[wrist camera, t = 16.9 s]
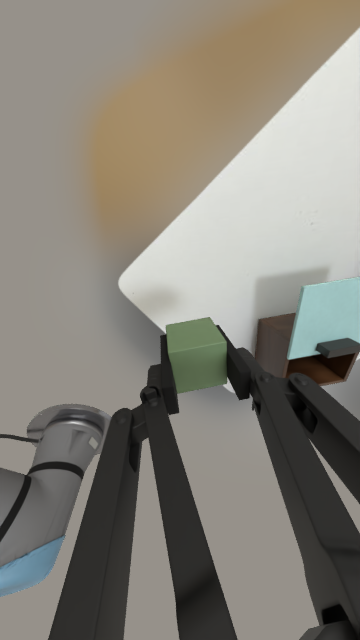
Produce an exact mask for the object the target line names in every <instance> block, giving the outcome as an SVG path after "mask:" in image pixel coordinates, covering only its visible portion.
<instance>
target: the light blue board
mask: <svg viewBox="0 0 360 640" xmlns="http://www.w3.org/2000/svg"><path fill="white" fill-rule="evenodd" d="M357 352H360V277H355V278H349V279H343V280H337V281H331V282H325V283H319V284H313V285H307V286H302V287H301V291H300V296H299V301H298V306H297V310H296V315H295V320H294V325H293V330H292V334H291V339H290V344H289V349H288V353H287V359H288V360H290V359H295V358H301V357H306V356H311V355H317V354H322V355H323V356H325V357H326V358H331V357H336V356H342V355H347V354H352V353H357Z"/></svg>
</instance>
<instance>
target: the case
mask: <svg viewBox="0 0 360 640" xmlns="http://www.w3.org/2000/svg"><path fill="white" fill-rule="evenodd" d="M295 315H296V313H292V314H286V315H280V316H274V317H269V318H263V319H259V323H258V334H257V344H256V354H255V360H256V361H257V362H258V363H259V364H260V366H261V367H262V368H263V369H264V370H265V371H266V372H269V373H271V374H273V375H274V376H275V377H279V378H289V376H290V374H292V373H301V374H304V375H307V376H308V377H310V378H311V379H312V380H313V381H315V382H316V383H317V384H318V385H319V386H324V385H329V384H335V383H339V382H344V381H346V380H347V378H348V376H349V373H350V371H351V369H352V367H353V365H354V363H355V360H356V358H357V356H358V354H359V352H357V353H352V354H347V355H342V356H336V357H331V358H326V357H325V356H323V355H322V354H317V355H311V356H306V357H301V358H295V359H290V360H288V359H287V353H288V349H289V344H290V339H291V334H292V330H293V325H294V320H295Z"/></svg>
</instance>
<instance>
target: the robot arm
mask: <svg viewBox="0 0 360 640" xmlns="http://www.w3.org/2000/svg"><path fill="white" fill-rule="evenodd" d="M216 327H217V328H218V330H219V331H220V333H221V334H222V336H223V337H224V339H225V340H226V342H227V377H228V379H229V381H230V383H231V385H232V387H233V389H234V391H235V393H236V395H237V397H238V398H239V400H243V399H248V398H249V397H250V394H251V396H252V397H253V402H252V403H253V404H252V410H254V408H255V412H256V415H257V418H258V421H259V424H260V427H261V430H262V433H263V436H264V440H265V443H266V445H267V449H268V452H269V455H270V458H271V461H272V464H273V468H274V471H275V474H276V477H277V480H278V484H279V486H280V489H281V493H282V496H283V499H284V502H285V505H286V508H287V511H288V515H289V518H290V521H291V524H292V527H293V530H294V534H295V537H296V540H297V543H298V546H299V549H300V552H301V556H302V559H303V563H304V569H305V577H306V581H307V585H308V589H309V592H310V596H311V599H312V602H313V606H314V609H315V612H316V615H317V619H318V622H319V625H320V626H317V627H314V628H310V629H308V630H307V631H306V632H305V633H304V635H303V636H302V637H301V638H300V639H299V640H360V533H359V531H358V530H357V528H356V526H355V524H354V522H353V520H352V518H351V517H350V515H349V513H348V511H347V509H346V507H345V505H344V504H343V502H342V500H341V498H340V496H339V494H338V492H337V491H336V489H335V487H334V486H333V483H332V481H331V479H330V478H329V476H328V474H327V472H326V470H325V468H324V466H323V465H322V463H321V461H320V459H319V458H318V455H317V453H316V452H315V450H314V448H313V446H312V445H311V442H312V443H313V444H314V446H315V447H316V448H317V450H318V451H319V452H320V454H321V455H322V456H323V457H324V459H325V460H326V461H327V462H328V464H329V465H330V466H331V468H332V469H333V470H334V471H335V473H336V474H337V475H338V477H339V478H340V479H341V480H342V482H343V483H344V484H345V486H346V487H347V488H348V489H349V491H350V492H351V493H352V494H353V496H354V497H355V498H356V500H357V501H358V502H359V504H360V421H359V420H358V419H357V418H356V417H354V416H353V415H352V414H351V413H350V412H349V411H348V410H346V409H345V408H344V407H343V406H342V405H341V404H339V403H338V402H337V401H336V400H335V399H334V398H333V397H331V395H329V394H328V393H327V392H326V391H325V390H324V389H322V388H321V387H320V386H319V385H318V384H317V383H316V382H315V381H313V380H312V379H311V378H310V377H308V376H307V375H304V374H301V373H292V374H290V376H289V378H279V377H275V376H274V375H273V374H271V373H269V372H266V371H265V370H264V369H263V368H262V367H261V366H260V364H259V363H258V362H257V361H256V360H255V359H254V357H253V356H252V355H251V354H250V352H249V351H248V350H246V349H245V348H238V349H236V348H235V347H234V346H233V344H232V343H231V342H230V340H229V339H228V337H227V336H226V335H225V333H224V332H223V330H222V329H221V328H220V326H219V325H216ZM160 338H161V364H158V365H152V366H151V367H150V369H149V370H148V381H147V386H146V387H145V388H144V389H142V391H141V393H140V398H141V401H142V404H141V405H140V406H138V407H137V408H134V409H133V410H130V409H128V408H122V409H120V410H118V411H117V412H115V414H114V415H113V416H112V418H111V420H110V423H109V427H108V430H107V434H106V438H105V441H104V445H103V448H102V452H101V455H100V460H99V462H98V466H97V469H96V473H95V476H94V480H93V484H92V487H91V490H90V494H89V498H88V501H87V505H86V508H85V511H84V515H83V519H82V522H81V526H80V530H79V533H78V536H77V540H76V544H75V547H74V550H73V554H72V557H71V561H70V564H69V568H68V571H67V575H66V578H65V582H64V586H63V589H62V592H61V596H60V600H59V603H58V607H57V611H56V614H55V617H54V621H53V624H52V628H51V631H50V635H49V638H48V640H123V638H124V626H125V617H126V616H125V615H126V605H127V595H128V585H129V574H130V564H131V553H132V542H133V532H134V521H135V511H136V501H137V490H138V479H139V468H140V458H141V448H142V441H143V440H144V439H146V438H148V437H149V443H150V449H151V454H152V461H153V467H154V472H155V479H156V484H157V490H158V496H159V502H160V508H161V514H162V520H163V526H164V532H165V538H166V544H167V550H168V556H169V562H170V568H171V573H172V580H173V586H174V592H175V600H176V615H177V624H178V631H179V639H180V640H237V636H236V633H235V630H234V627H233V623H232V620H231V617H230V614H229V610H228V607H227V604H226V601H225V598H224V594H223V591H222V588H221V585H220V582H219V579H218V576H217V573H216V570H215V566H214V563H213V560H212V556H211V553H210V550H209V547H208V543H207V540H206V537H205V534H204V530H203V527H202V524H201V521H200V517H199V514H198V511H197V508H196V505H195V501H194V498H193V495H192V491H191V488H190V485H189V482H188V478H187V475H186V472H185V469H184V465H183V462H182V459H181V456H180V453H179V449H178V446H177V443H176V439H175V436H174V433H173V430H172V426H171V423H170V420H169V417H168V414H169V415H171V414H176V413H179V407H178V399H177V390H176V384H175V380H174V375H173V370H172V366H171V362H170V359H169V355H168V346H167V335H161V336H160ZM0 438H11V439H15V440H20V441H26V442H33V443H38V446H37V449H36V453H35V457H34V460H33V464H32V467H31V469H30V470H29V472H28V474H27V475H24V474H21V473H17V472H13V471H10V470H7V469H3V468H0V597H1V596H5V595H8V594H12V593H15V592H18V591H21V590H24V589H27V588H29V587H32V586H34V585H36V584H38V583H40V582H41V581H42V580H44V579H45V578H46V576H47V575H48V574H49V573H50V571H51V570H52V568H53V566H54V564H55V561H56V558H57V556H58V553H59V550H60V548H61V545H62V542H63V540H64V538H65V533H66V530H67V527H68V523H69V520H70V517H71V514H72V511H73V508H74V505H75V501H76V498H77V495H78V492H79V489H80V486H81V482H82V479H83V476H84V473H85V471H86V469H87V467H88V465H89V464H90V462H91V461H92V459H93V457H94V455H95V454H96V452H97V451H98V449H99V447H100V445H101V442H102V438H103V433H102V431H101V429H100V428H99V427H98V426H96V425H95V424H93V423H91V422H89V421H86V420H82V419H72V418H71V419H61V420H57V421H55V422H52V423H50V424H49V425H48V426H47V427H46V428H45V429H44V431H43V432H42V434H41V436H40V438H39V440H38V439H31V438H24V437H19V436H14V435H6V434H0ZM308 438H309V439H310V440H311V442H310V440H309V439H308Z"/></svg>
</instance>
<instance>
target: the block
mask: <svg viewBox="0 0 360 640" xmlns="http://www.w3.org/2000/svg"><path fill="white" fill-rule="evenodd" d="M166 335H167V346H168V355H169V359H170V362H171V366H172V370H173V375H174V380H175V384H176V390H177V394H178V393H183V392H188V391H193V390H198V389H203V388H208V387H213V386H218V385H223V384H227V342H226V340H225V339H224V337H223V336H222V334H221V333H220V331H219V330H218V328H217V327H216V325H215V324H214V323H213V321H212V320H211V318H210V317H208V318H202V319H197V320H191V321H186V322H181V323H175V324H170V325H166Z"/></svg>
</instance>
